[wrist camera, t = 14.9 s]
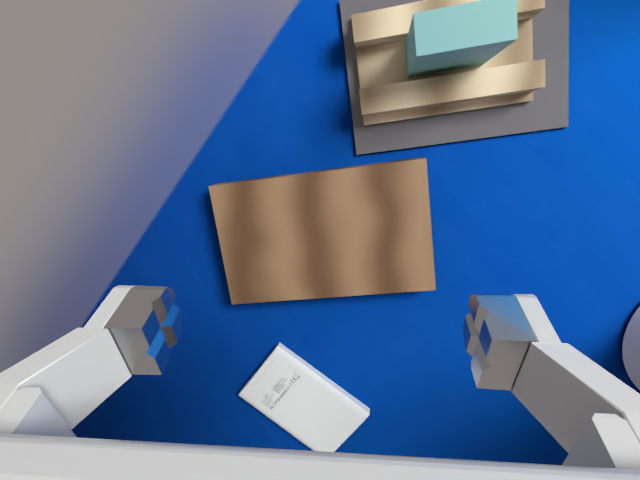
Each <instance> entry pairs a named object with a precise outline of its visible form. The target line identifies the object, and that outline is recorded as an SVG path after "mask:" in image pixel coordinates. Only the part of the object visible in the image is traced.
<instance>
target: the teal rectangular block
mask: <svg viewBox="0 0 640 480" xmlns="http://www.w3.org/2000/svg"><path fill="white" fill-rule="evenodd" d="M517 39H518V25H517V0H480V1H475V2H470V3H464V4H459V5H454V6H449V7H443V8H438V9H433V10H428V11H422V12H417V13H413V16H412V20H411V24H410V28H409V32H408V36H407V40H406V44H405V55H406V68H407V78H411V77H417V76H423V75H429V74H435V73H441V72H447V71H453V70H460V69H466V68H472V67H478V66H482V65H483V64H485V63H486V62H487V61H489V60H490V59H491V58H493V57H494V56H495V55H497V54H498V53H500V52H501V51H502V50H504V49H505V48H506V47H508V46H509V45H510V44H512V43H513V42H514V41H516V40H517Z"/></svg>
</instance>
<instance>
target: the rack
mask: <svg viewBox="0 0 640 480" xmlns="http://www.w3.org/2000/svg"><path fill="white" fill-rule="evenodd" d="M475 1H480V0H423V1H418V2H413V3H408V4H403V5H398V6H393V7H388V8H383V9H377V10H372V11H367V12H362V13H357V14H352V15H351V18H352V28H353V37H354V44H355V48H356V55H357V64H358V73H359V83H360V89H359V94H360V103H361V112H362V116H363V121H364V126H365V125H372V124H378V123H385V122H392V121H399V120H406V119H413V118H420V117H426V116H433V115H440V114H447V113H454V112H461V111H468V110H474V109H481V108H488V107H495V106H502V105H509V104H515V103H522V102H529V101H533V91H535V90H538V89H541V88H544V87H545V59H542V60H536V61H533V31H532V18H533V17H534V16H535V15H537V14H538V13H539V12H540V11H542V10H543V9H544V8H545V0H517V25H518V39H517V40H516V41H514V42H513V43H512V44H510V45H509V46H508V47H506V48H505V49H504V50H502V51H501V52H500V53H498V54H497V55H495V56H494V57H493V58H491V59H490V60H489V61H487V62H486V63H485V64H483V65H482V66H478V67H472V68H466V69H460V70H453V71H447V72H441V73H435V74H429V75H423V76H417V77H411V78H407V68H406V55H405V44H406V40H407V36H408V32H409V28H410V24H411V20H412V16H413V13H417V12H422V11H428V10H433V9H438V8H443V7H449V6H454V5H459V4H464V3H470V2H475Z"/></svg>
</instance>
